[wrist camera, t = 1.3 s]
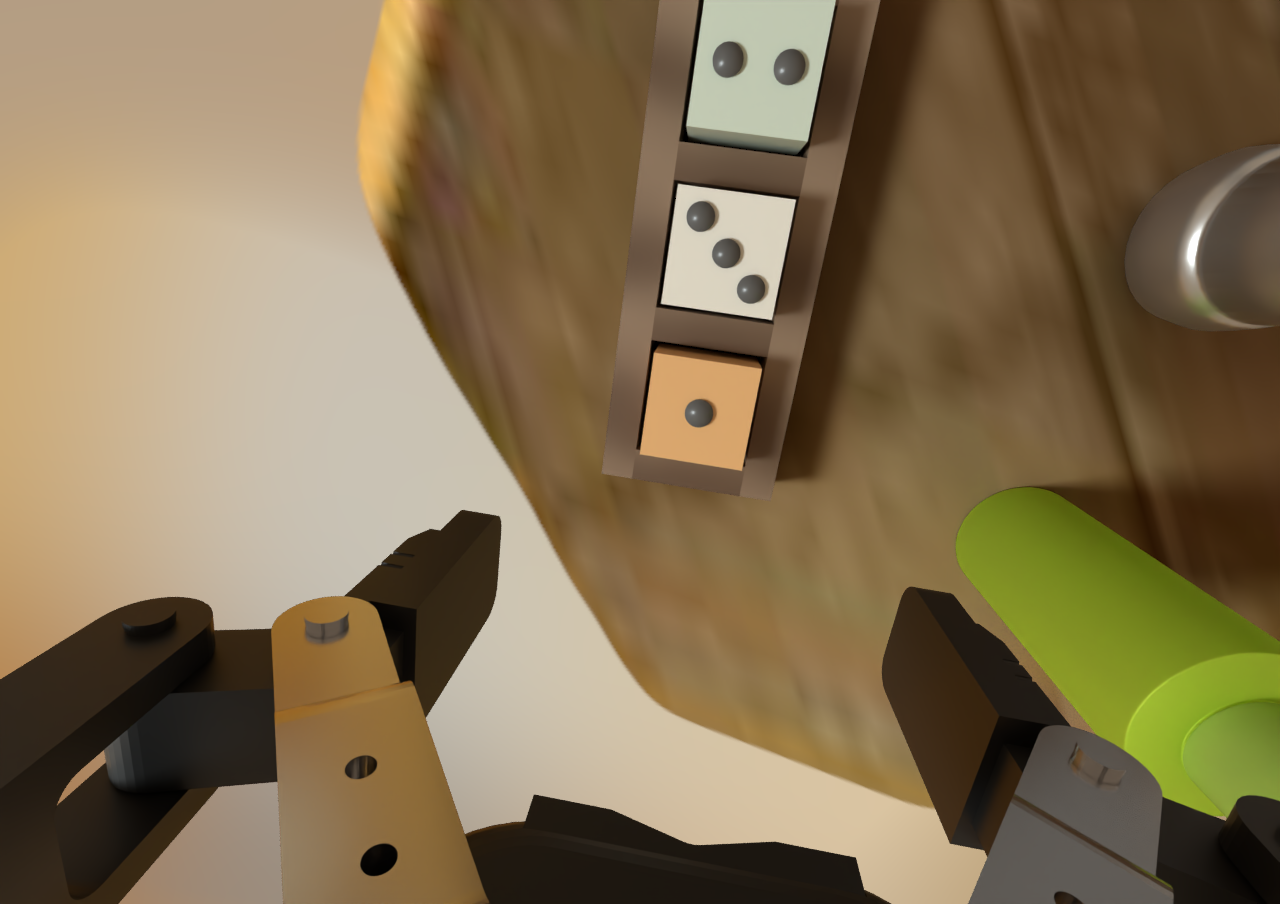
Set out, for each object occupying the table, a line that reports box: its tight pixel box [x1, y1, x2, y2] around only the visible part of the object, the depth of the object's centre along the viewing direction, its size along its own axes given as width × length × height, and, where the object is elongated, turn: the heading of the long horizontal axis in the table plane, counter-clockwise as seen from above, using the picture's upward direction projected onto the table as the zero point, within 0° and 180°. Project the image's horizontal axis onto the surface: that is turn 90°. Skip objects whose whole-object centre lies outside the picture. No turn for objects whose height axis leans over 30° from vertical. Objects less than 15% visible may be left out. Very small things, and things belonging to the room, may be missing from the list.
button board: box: [602, 0, 880, 501], centre depth 26 cm, size 21×8×2 cm, turn 172°
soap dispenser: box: [956, 487, 1280, 818], centre depth 20 cm, size 6×7×20 cm
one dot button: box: [640, 343, 762, 471], centre depth 27 cm, size 4×4×3 cm
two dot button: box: [686, 0, 836, 155], centre depth 23 cm, size 4×4×3 cm
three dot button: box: [661, 184, 796, 320], centre depth 25 cm, size 4×4×3 cm
